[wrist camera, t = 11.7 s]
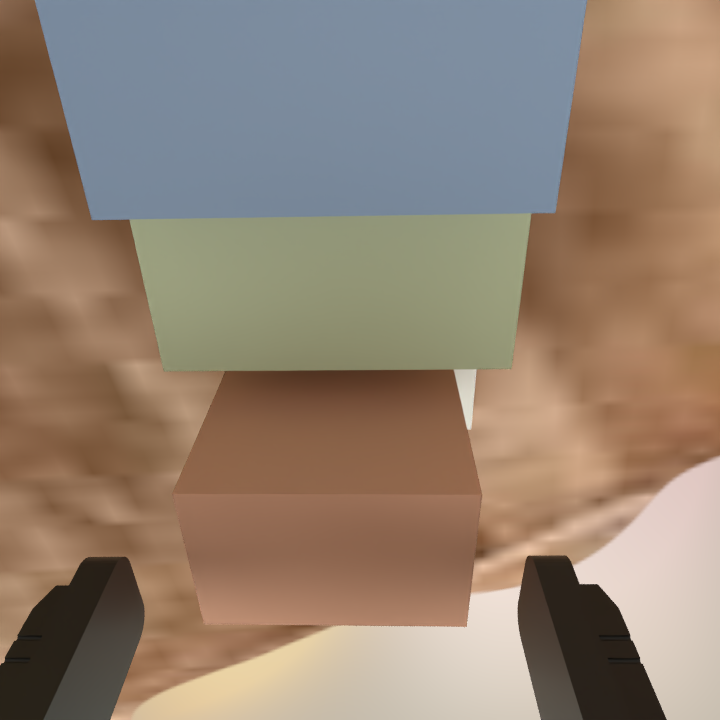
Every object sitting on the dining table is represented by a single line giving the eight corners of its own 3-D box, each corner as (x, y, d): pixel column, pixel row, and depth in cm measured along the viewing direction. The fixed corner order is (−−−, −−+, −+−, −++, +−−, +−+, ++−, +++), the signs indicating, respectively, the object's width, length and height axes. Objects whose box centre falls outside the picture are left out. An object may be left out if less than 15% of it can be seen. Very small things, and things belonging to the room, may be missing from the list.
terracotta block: (279, 360, 24) (204, 624, 13) (270, 268, 22) (172, 494, 11) (426, 360, 23) (466, 626, 13) (430, 267, 21) (482, 494, 11)
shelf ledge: (250, 410, 27) (123, 797, 13) (181, -70, 18) (-433, -372, 4) (466, 409, 26) (560, 805, 13) (508, -80, 17) (958, -443, 4)
